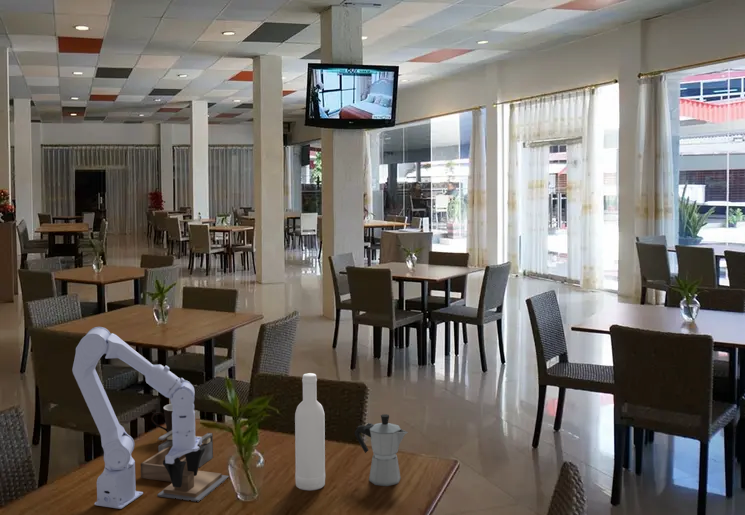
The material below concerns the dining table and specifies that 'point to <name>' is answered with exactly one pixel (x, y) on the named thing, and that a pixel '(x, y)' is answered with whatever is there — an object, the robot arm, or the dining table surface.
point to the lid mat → (197, 496)
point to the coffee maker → (383, 450)
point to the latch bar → (195, 436)
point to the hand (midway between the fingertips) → (185, 480)
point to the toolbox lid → (193, 483)
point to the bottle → (310, 438)
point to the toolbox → (154, 464)
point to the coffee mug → (166, 417)
